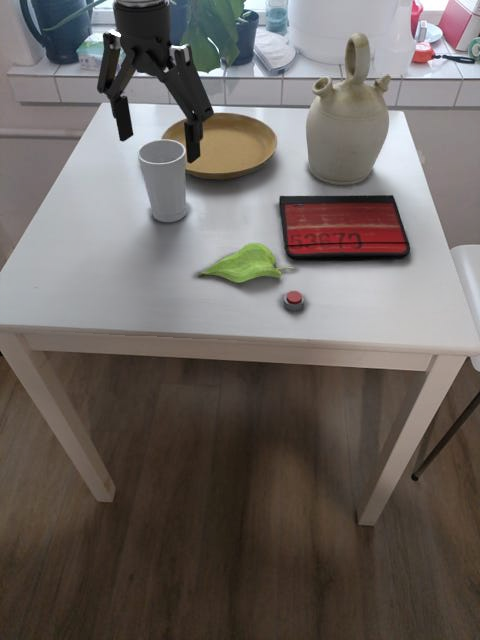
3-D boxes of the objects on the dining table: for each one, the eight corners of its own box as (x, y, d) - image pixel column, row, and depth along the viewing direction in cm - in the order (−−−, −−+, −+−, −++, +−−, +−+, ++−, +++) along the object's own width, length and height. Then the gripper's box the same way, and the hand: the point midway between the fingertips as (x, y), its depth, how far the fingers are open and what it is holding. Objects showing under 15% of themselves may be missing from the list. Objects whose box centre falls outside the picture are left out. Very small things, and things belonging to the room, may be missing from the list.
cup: (189, 225, 87) (183, 164, 78) (144, 224, 87) (133, 164, 78) (192, 199, 92) (187, 139, 83) (150, 198, 92) (141, 139, 83)
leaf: (296, 285, 77) (297, 275, 75) (197, 287, 77) (196, 278, 75) (291, 248, 83) (292, 239, 81) (198, 250, 82) (198, 241, 81)
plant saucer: (271, 190, 94) (272, 175, 92) (149, 182, 96) (147, 167, 94) (280, 129, 110) (281, 115, 107) (175, 123, 112) (173, 109, 109)
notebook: (279, 194, 89) (394, 193, 89) (278, 204, 91) (390, 203, 91) (286, 254, 79) (415, 253, 79) (285, 265, 81) (411, 263, 81)
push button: (284, 310, 73) (285, 303, 72) (282, 296, 75) (283, 289, 74) (304, 309, 73) (305, 303, 72) (302, 295, 75) (303, 288, 74)
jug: (298, 187, 95) (312, 48, 76) (304, 147, 105) (318, 15, 86) (378, 194, 93) (413, 54, 74) (376, 152, 103) (406, 20, 84)
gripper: (236, 5, 62) (236, 158, 78) (87, -22, 71) (115, 120, 86) (204, 22, 58) (211, 180, 74) (50, -9, 66) (86, 138, 82)
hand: (159, 148), depth 80 cm, fingers open, 13 cm apart
